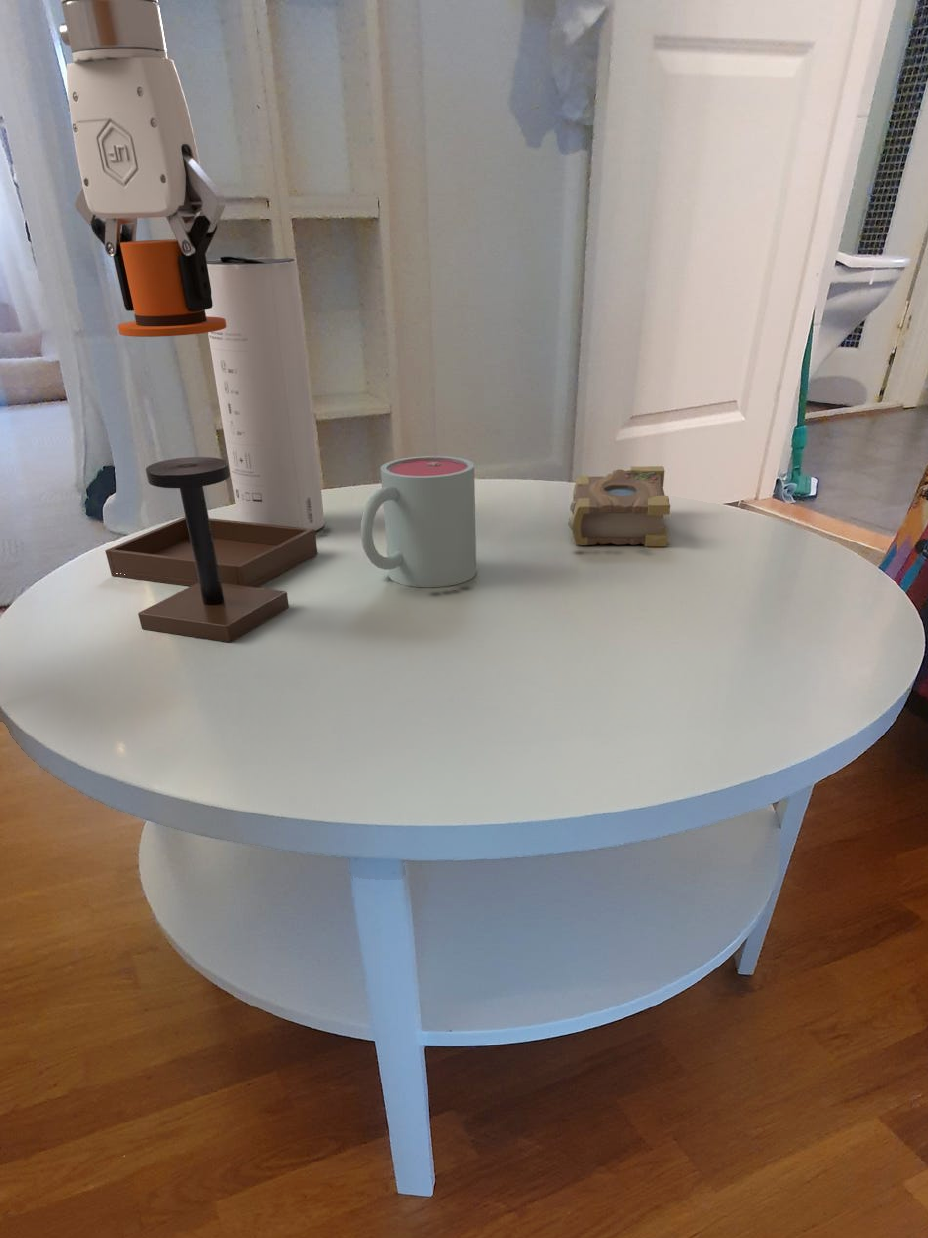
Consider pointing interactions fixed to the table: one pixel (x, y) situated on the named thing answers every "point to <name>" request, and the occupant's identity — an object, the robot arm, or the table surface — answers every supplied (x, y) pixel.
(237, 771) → the table surface
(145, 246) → the hat
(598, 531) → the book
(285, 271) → the white cylindrical canister
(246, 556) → the tray
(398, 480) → the mug
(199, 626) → the hat stand
